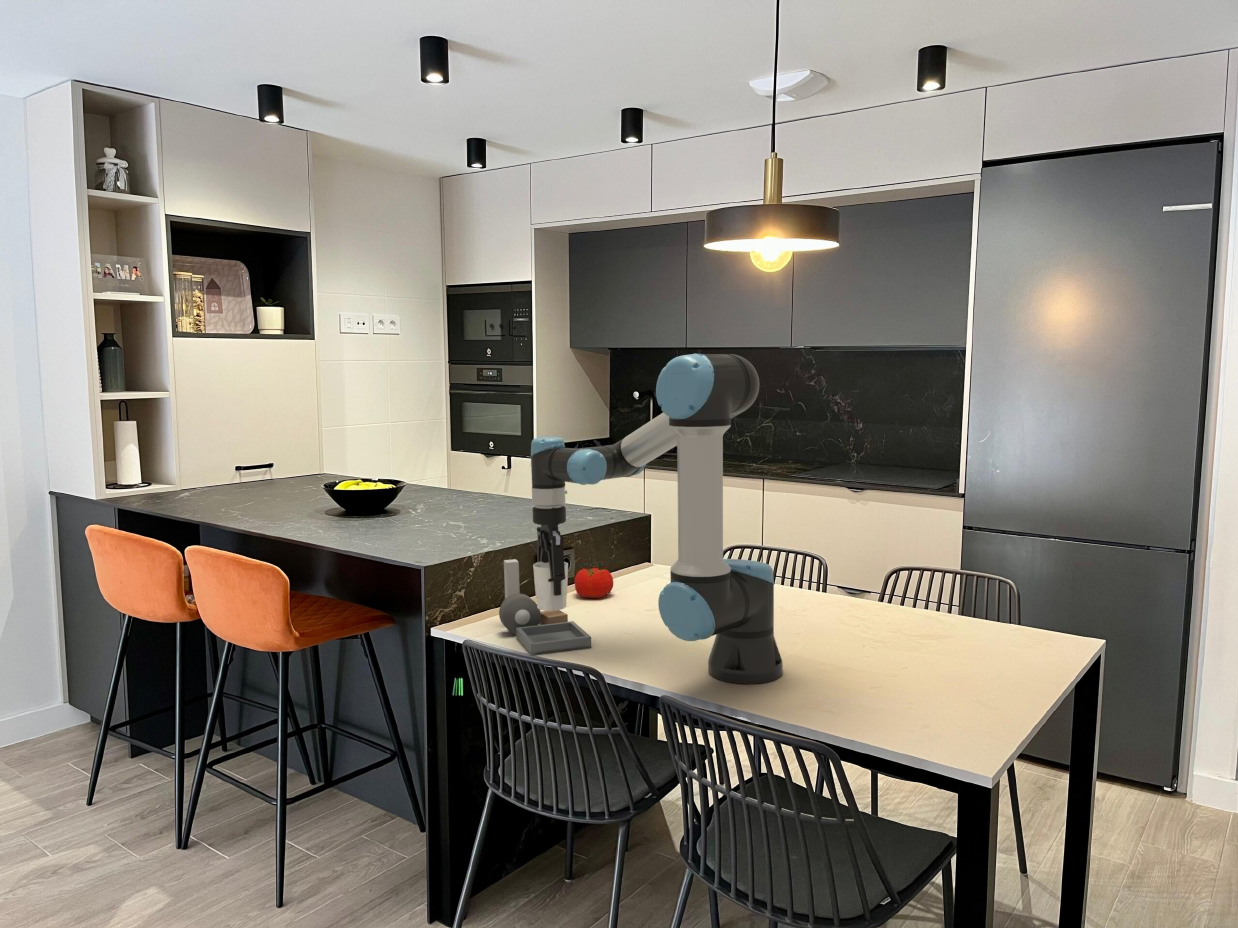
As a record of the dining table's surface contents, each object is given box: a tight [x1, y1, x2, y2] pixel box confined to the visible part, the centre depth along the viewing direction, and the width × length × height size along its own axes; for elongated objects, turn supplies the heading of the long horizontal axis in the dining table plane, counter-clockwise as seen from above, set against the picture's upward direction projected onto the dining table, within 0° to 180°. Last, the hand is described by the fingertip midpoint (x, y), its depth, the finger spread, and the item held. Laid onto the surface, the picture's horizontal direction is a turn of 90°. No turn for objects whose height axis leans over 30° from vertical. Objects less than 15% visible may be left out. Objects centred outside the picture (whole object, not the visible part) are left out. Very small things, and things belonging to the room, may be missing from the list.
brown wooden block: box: [539, 610, 569, 625], centre depth 220 cm, size 6×5×4 cm
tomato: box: [574, 567, 614, 599], centre depth 250 cm, size 11×11×8 cm
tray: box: [515, 620, 593, 656], centre depth 208 cm, size 14×14×2 cm
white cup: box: [532, 561, 569, 611], centre depth 207 cm, size 8×8×10 cm
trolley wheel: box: [498, 558, 541, 636], centre depth 219 cm, size 12×9×16 cm
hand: (551, 604), depth 207 cm, fingers closed on white cup, 7 cm apart
